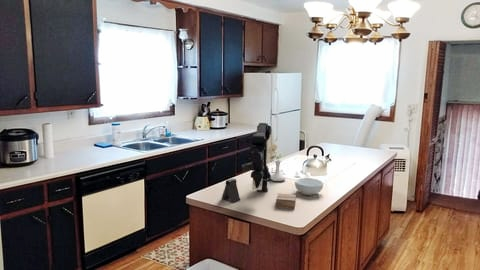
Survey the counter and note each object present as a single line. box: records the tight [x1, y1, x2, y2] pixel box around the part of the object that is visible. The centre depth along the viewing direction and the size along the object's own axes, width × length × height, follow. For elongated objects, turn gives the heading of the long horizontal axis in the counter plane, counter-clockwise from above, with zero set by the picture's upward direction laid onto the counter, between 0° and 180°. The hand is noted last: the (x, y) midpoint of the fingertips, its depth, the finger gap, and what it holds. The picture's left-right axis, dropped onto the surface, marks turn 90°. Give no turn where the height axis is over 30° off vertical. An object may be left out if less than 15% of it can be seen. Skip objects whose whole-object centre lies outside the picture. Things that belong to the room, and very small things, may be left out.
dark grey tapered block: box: [221, 178, 241, 204], centre depth 211 cm, size 9×6×12 cm, turn 50°
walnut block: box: [275, 192, 297, 210], centre depth 205 cm, size 10×10×5 cm
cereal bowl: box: [294, 177, 324, 196], centre depth 227 cm, size 17×17×7 cm
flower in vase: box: [267, 143, 286, 182], centre depth 251 cm, size 13×11×25 cm
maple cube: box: [251, 178, 262, 191], centre depth 203 cm, size 5×5×5 cm
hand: (257, 186), depth 204 cm, fingers closed on maple cube, 5 cm apart
